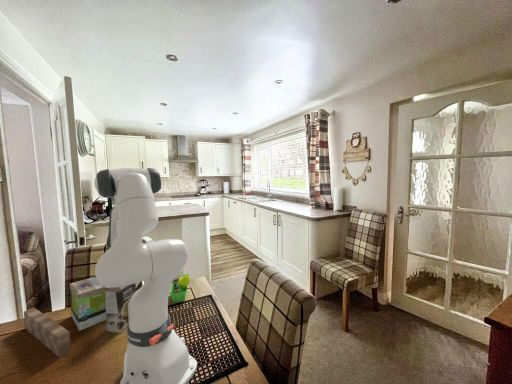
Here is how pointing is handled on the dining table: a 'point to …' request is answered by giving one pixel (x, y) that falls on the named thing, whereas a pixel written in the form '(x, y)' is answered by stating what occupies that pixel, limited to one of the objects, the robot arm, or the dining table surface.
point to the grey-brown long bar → (47, 331)
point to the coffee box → (118, 307)
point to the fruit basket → (180, 289)
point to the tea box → (87, 302)
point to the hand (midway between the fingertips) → (110, 296)
